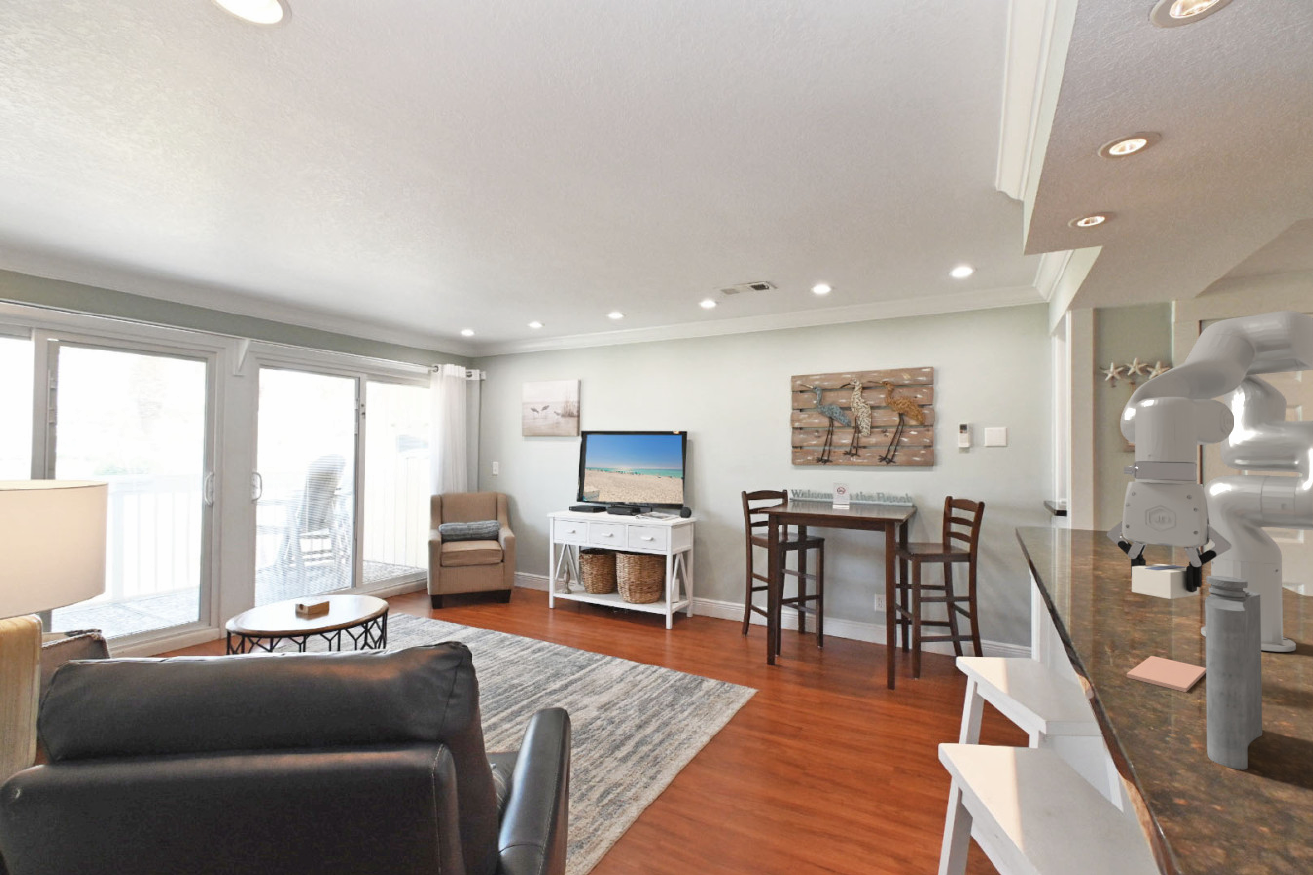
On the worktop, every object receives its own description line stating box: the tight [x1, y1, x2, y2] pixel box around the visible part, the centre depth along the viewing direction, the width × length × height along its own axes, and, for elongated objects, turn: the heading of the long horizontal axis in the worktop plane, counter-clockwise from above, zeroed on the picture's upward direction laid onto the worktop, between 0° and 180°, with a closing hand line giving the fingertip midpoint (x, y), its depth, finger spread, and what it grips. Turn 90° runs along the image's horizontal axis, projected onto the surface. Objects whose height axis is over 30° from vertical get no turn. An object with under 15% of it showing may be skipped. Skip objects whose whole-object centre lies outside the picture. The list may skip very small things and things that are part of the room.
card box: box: [1131, 563, 1200, 600], centre depth 92 cm, size 5×9×4 cm, turn 116°
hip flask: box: [1204, 575, 1263, 771], centre depth 70 cm, size 16×4×20 cm, turn 129°
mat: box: [1126, 655, 1206, 693], centre depth 92 cm, size 14×7×1 cm, turn 127°
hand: (1165, 585), depth 92 cm, fingers closed on card box, 5 cm apart
